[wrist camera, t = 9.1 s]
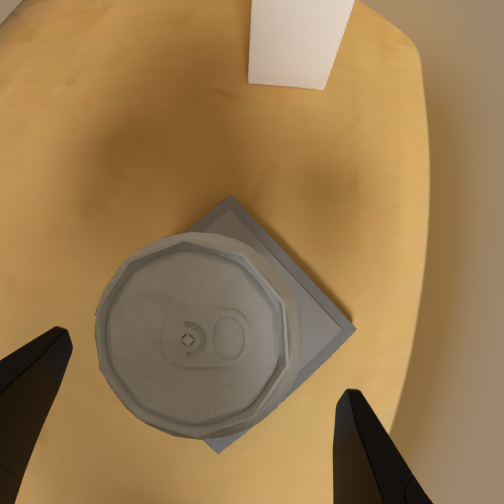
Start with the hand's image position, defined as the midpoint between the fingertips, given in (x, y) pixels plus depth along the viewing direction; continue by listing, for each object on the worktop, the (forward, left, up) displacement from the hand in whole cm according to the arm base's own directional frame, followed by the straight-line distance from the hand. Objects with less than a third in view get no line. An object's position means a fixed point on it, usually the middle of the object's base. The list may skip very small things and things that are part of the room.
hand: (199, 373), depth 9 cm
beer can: (+1, +1, -9) cm, 9 cm away
